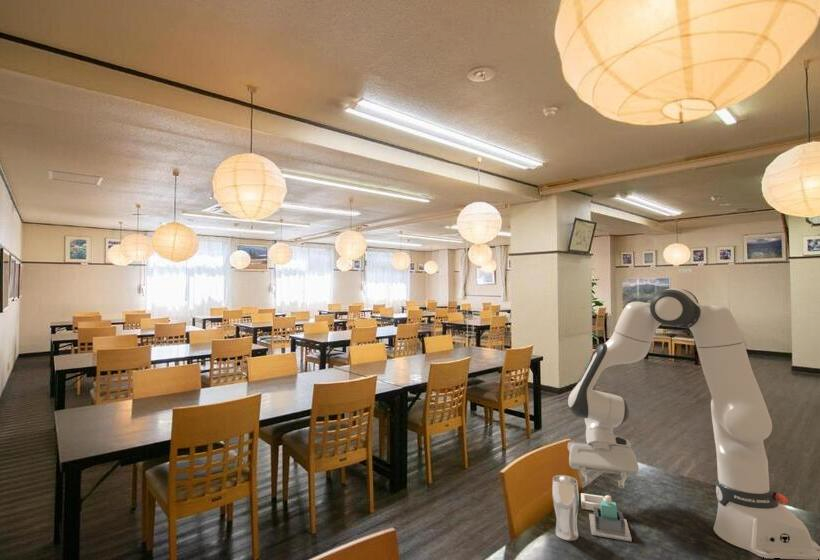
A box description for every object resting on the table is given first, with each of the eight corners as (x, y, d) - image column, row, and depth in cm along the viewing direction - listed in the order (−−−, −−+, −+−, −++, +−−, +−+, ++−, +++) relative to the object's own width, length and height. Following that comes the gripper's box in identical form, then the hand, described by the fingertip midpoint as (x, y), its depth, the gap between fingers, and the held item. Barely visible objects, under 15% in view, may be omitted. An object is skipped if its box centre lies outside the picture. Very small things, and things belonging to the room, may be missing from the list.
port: (626, 522, 120) (625, 508, 120) (631, 541, 110) (630, 526, 111) (589, 516, 123) (588, 503, 123) (591, 534, 114) (590, 520, 114)
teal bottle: (616, 523, 117) (615, 495, 118) (617, 529, 115) (616, 500, 115) (601, 521, 119) (600, 493, 119) (602, 526, 116) (600, 497, 116)
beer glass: (582, 543, 110) (580, 486, 111) (555, 540, 111) (553, 484, 112) (577, 528, 117) (575, 475, 118) (552, 526, 118) (550, 473, 119)
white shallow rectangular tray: (606, 502, 132) (605, 496, 132) (608, 512, 125) (607, 506, 126) (581, 499, 134) (580, 493, 134) (581, 508, 128) (581, 502, 128)
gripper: (567, 434, 138) (568, 476, 128) (635, 441, 130) (642, 485, 121) (567, 443, 141) (568, 484, 132) (633, 450, 134) (640, 494, 125)
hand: (604, 485), depth 126 cm, fingers open, 8 cm apart
